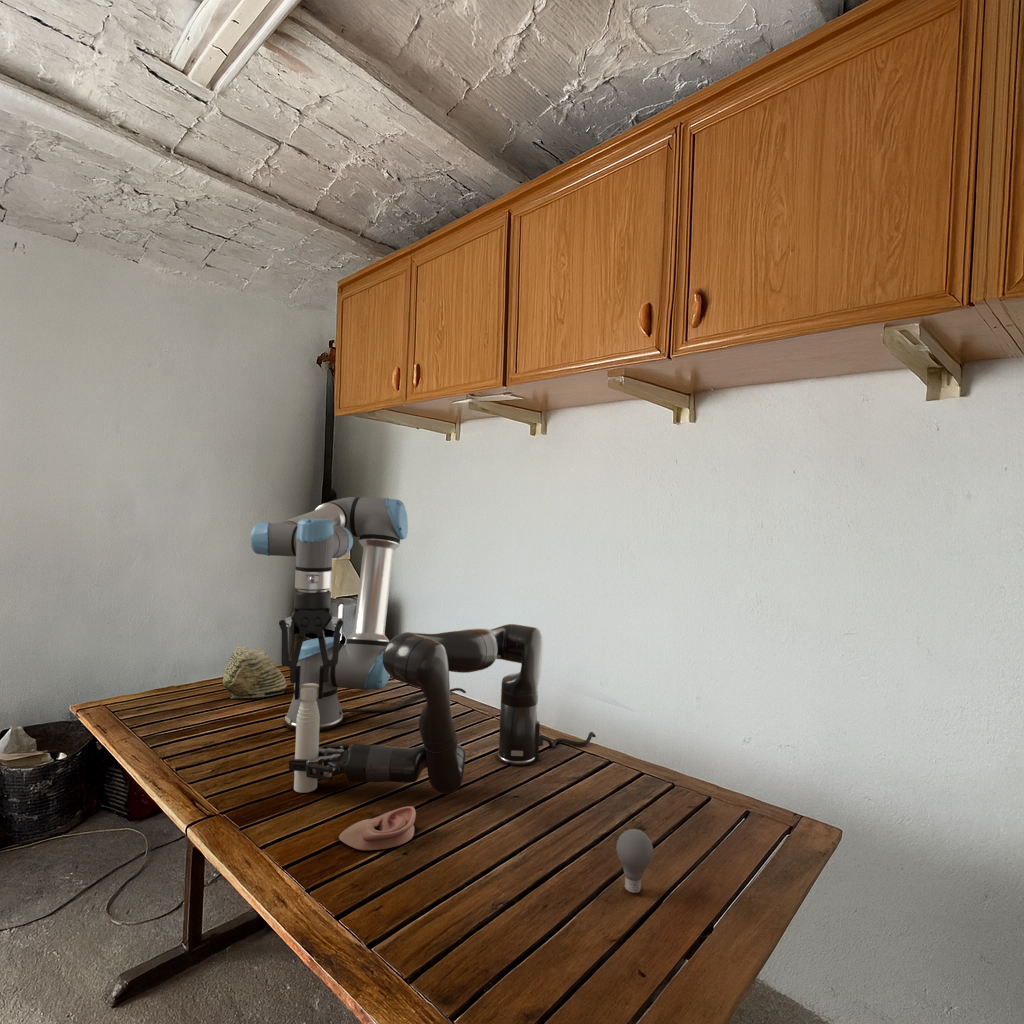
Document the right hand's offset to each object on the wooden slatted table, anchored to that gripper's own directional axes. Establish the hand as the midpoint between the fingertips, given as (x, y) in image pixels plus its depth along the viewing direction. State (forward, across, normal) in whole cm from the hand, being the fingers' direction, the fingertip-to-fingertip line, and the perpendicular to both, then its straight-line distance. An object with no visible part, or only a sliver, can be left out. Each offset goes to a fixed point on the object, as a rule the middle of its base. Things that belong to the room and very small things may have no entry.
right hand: (294, 759), depth 137 cm
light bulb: (-68, +31, +6) cm, 75 cm away
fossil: (+34, -60, +6) cm, 69 cm away
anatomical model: (-23, +18, +6) cm, 29 cm away
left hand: (-3, 0, -14) cm, 14 cm away
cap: (-3, 0, -16) cm, 16 cm away
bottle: (-3, 0, +6) cm, 7 cm away
